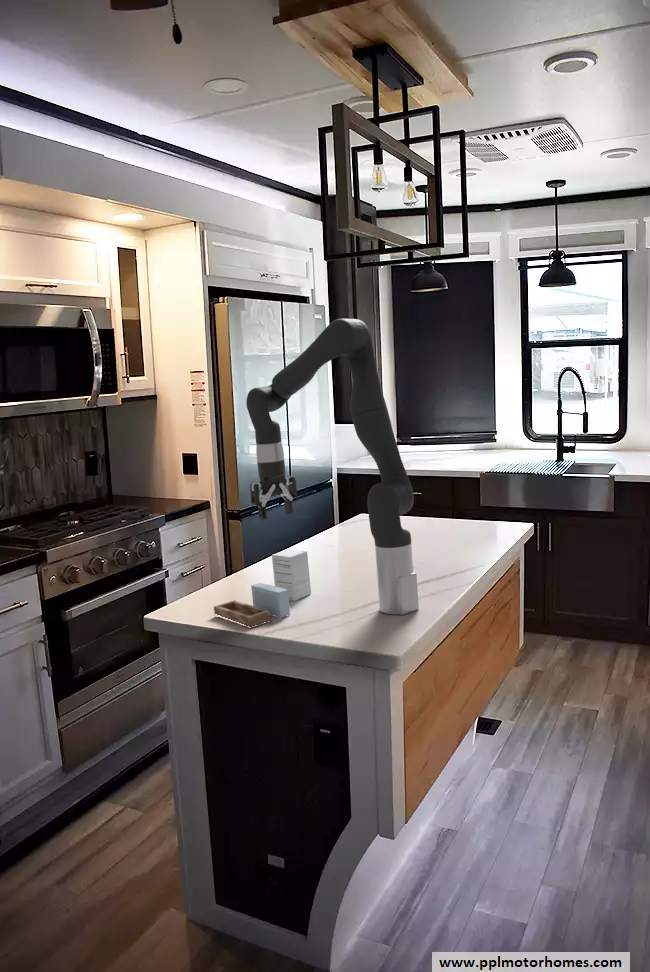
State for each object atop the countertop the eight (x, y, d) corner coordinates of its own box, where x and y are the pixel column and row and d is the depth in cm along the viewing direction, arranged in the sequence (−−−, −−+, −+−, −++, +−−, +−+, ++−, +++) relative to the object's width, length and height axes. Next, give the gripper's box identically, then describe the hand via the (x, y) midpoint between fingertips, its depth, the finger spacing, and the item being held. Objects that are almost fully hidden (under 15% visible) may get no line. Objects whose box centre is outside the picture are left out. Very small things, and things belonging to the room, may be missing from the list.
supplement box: (292, 591, 230) (288, 548, 229) (312, 594, 226) (308, 550, 224) (274, 598, 225) (270, 554, 223) (294, 601, 220) (290, 556, 218)
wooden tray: (270, 621, 204) (269, 610, 204) (250, 628, 200) (248, 617, 200) (235, 610, 216) (234, 600, 216) (214, 616, 212) (213, 606, 212)
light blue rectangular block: (290, 615, 208) (287, 589, 207) (280, 619, 206) (277, 592, 205) (262, 607, 217) (260, 582, 216) (252, 610, 215) (250, 585, 214)
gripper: (257, 463, 214) (263, 523, 216) (299, 456, 223) (304, 513, 225) (241, 462, 220) (247, 520, 222) (283, 455, 229) (288, 511, 231)
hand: (276, 517), depth 224 cm, fingers open, 8 cm apart
